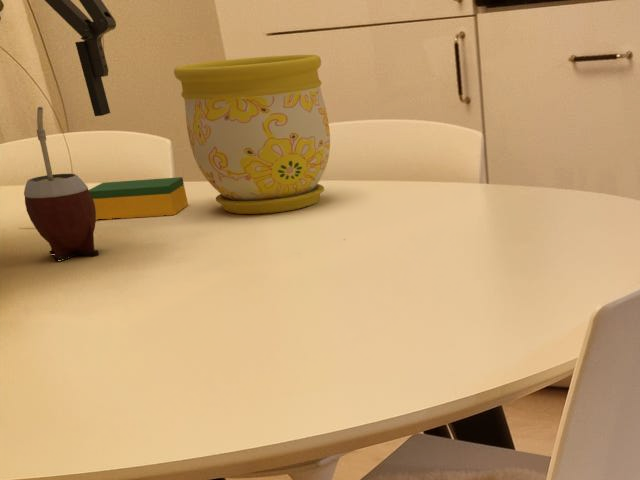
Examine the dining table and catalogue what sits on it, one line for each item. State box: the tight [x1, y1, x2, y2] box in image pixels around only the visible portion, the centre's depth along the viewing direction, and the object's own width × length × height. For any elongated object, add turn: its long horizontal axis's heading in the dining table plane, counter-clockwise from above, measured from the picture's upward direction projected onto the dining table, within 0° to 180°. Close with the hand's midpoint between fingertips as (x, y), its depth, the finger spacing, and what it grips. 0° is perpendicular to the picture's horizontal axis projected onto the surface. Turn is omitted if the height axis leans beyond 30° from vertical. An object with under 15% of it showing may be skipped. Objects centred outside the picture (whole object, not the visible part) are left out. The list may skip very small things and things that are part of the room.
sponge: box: [88, 176, 189, 221], centre depth 126 cm, size 11×7×4 cm, turn 90°
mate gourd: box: [23, 106, 99, 262], centre depth 102 cm, size 8×8×15 cm
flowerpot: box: [173, 54, 331, 215], centre depth 121 cm, size 18×18×16 cm
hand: (39, 120), depth 99 cm, fingers open, 13 cm apart
